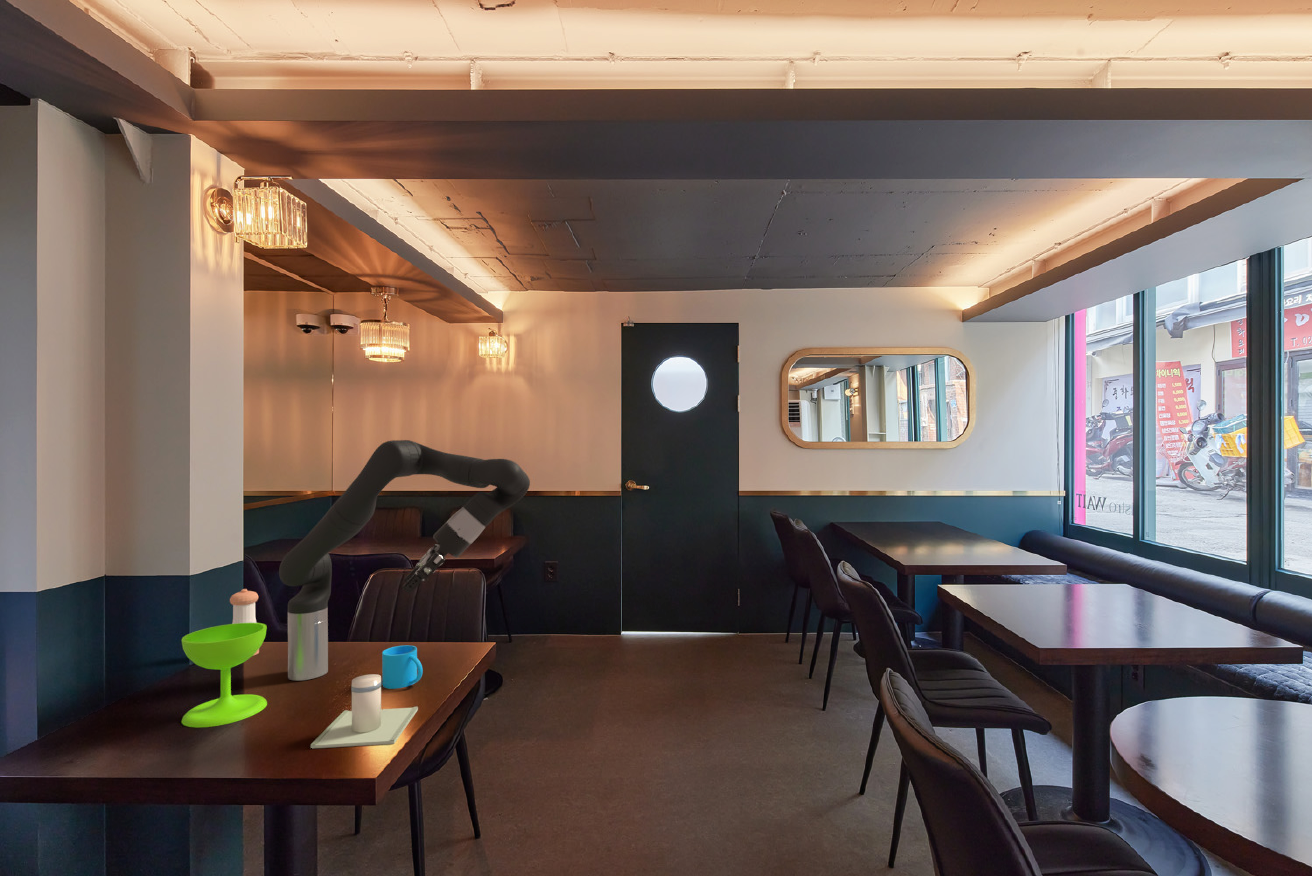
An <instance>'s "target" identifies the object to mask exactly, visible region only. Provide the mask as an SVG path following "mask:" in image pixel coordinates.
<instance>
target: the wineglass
mask: <svg viewBox="0 0 1312 876" xmlns="http://www.w3.org/2000/svg"><path fill="white" fill-rule="evenodd" d="M267 629H268V628H267V624H265V623H261V622H257V623H236V624H232V623H228V624H221V625H216V626H211V627H207V628H202V629H200V630H196V631H193V632H190V633H188V634H186V635H184V636H182V638H181V645H182V650H183V652H184V653H185V656H186V657H187V658H188V659H189V660H191V662H192V663H194V664H195V665H196V666H198V667H200V668H204V669H206V670H207V669H208V670H220V696H219V698H216V699H211V700H209V701H205V702H203V703H201V704H198V705H196V706H194V707H193V708H191V709H190V710H188V711H187V712H186V713H184V715H183V716H182V719H181V724H182V725H183V726H185V727H189V728H198V729H199V728H209V727H219V726H223V725H228V724H233V723H236V722H239V721H242V720H245V719H247V718H251V717H252V716H254V715H256V714H258V713H260V712H261V711H263V710H264V709H265V708H266V707H267V706H268V701H267V699H266V698H264V697H263V696H262V695H258V694H252V693H251V694H233V695H232V690H231V689H232V686H231V685H232V684H231V682H232V681H231V680H232V679H231V678H232V675H231V672H232V671H231V669H232V668H234V667H237V666H239V665H241V664H243V663H245V662H246V661H248V660H250V658H252V657H253V655H254V654H255V653H256V651H257V650H258V649H259V650H260V648H261V647H262V645H263V643H264V640H265V638H266V637H267V636H266V635H267ZM254 656H255V655H254Z"/></svg>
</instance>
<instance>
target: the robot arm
mask: <svg viewBox="0 0 1312 876" xmlns="http://www.w3.org/2000/svg"><path fill="white" fill-rule="evenodd" d="M413 475H415V476H416V475H428V476H438V477H440V478H443V479H445V480H446V481H449V482H451V483H454V484H458V485H460V486H465V487H472V488H476V489H484V488H485V489H486V488H487V487H489V486H493V487H495V488H494V489H492V490H491V491H489V492H486V491H483V490H482V491H478V492H476V493H475V494H474V495H473V496H472V497H471V498H470V499H469V500H468V501H467V502H466V503H465V504H464V505H463V506H462V507H461V508H460V509H459V510H458V511H455V513H454V514H453V515H452V516H451V517H450V518H449V519H448V520H447V521H446V522H445V523H444V524H443V525H442V526H441V527H440V528H438V530H437V531H436V532H435V533H434V534H433V539H434V540H435V541H436V544H434V545H433V547H430V548H429V549H428V550H427V552H426V553H425V554H424V555H422V557H421V558H420V559H419V560H418V562H417V563H416V565H415V567H414V568H413V569H412V570H411V571H410V572H409V573H408V574H407V575H406V576H405V577H404V579H403V580H404V582H405V583H404V584H403V585H402V590H404V591H405V592H406V593H407V594H411V593H412V592H413V591H414V590H415V589H417V587H418V586H419V585H420V584H421V583H422V582H424V581H426V580H429V578H430V577H431V576H432V575H433V574H434V573H435V572H436V570H438V568H439V567H440V566H442V565H443V564H444V563H445V561H446V558H445V557H446V556H447V555H448V554H450V555H451V556H452V557H454V558H459V557H460V556H461V555H462V554H463V553H464V552H465V551H466V550H467V549H468V548H469V546H471V544H473V543H474V541H476V539H478V537H479V536H480V535H481V534H482V532H483V531H484V530H485V529H486V527H487V526H488V525H490V523H491V522H493V520H494V519H496V517H497V516H498V515H499V514H501V513H502V512H504V511H506V510H507V509H508V508H510V507H512V506H513V505H514V504H516V503H518V502H519V501H520V500H521V499H522V498H524V496H525V495H526V494H527V493H528V491H529V489H530V485H531V479H530V478H529V476H528V474H527V473H526V472H525V471H524V470H523V469H522V468H521V466H520V465H519V463H517V462H515V461H513V460H511V459H506V458H489V459H483V458H479V457H471V456H468V455H462V454H455V453H448V452H444V451H440V450H437V449H433V448H431V447H429V446H426V445H423V444H421V443H419V442H416V441H413V440H407V439H400V440H399V439H397V440H395V439H394V440H393V439H392V440H387V441H385V442H383V443H381V444H380V445H379V446H378V447H376V449H375V451H374V452H373V453H372V454H371V456H370V457H369V459H368V461H367V462H366V463H365V465H364V467H363V468H362V470H361V471H360V472H359V474H358V475H357V476H356V478H355V479H354V480H353V481H352V482H351V484H350V485H349V486H348V487H347V488H346V489H345V491H344V492H343V493H342V494H341V495H340V497H338V499H337V500H336V501H335V502H334V503H333V505H332V506H331V507H330V508H329V509H328V511H326V513H325V514H324V515H323V517H321V519H320V520H319V521H318V522H317V524H315V526H313V528H312V529H311V530H310V531H309V533H308V534H306V536H305V537H304V538H303V539H302V540H300V541H299V542H298V543H297V544H296V545H295V546H294V547H293V548H292V549H290V551H288V552H287V553H286V555H285V556H284V557H283V559H282V561H281V562H280V565H279V569H278V575H279V579H280V581H281V582H282V583H283V584H284V585H286V586H289V587H301V589H300V591H299V592H298V593H297V594H296V595H295V596H293V597H292V598H291V599H290V600H289V601H288V603H287V679H288V680H291V681H307V680H311V679H316V678H319V677H322V676H325V675H326V674H327V673H328V672H329V636H328V635H329V632H328V631H329V629H328V626H329V623H328V621H329V619H328V617H329V615H328V611H329V610H328V607H329V606H328V603H329V599H330V597H331V592H332V576H333V574H332V573H333V569H332V567H333V564H332V559H331V556H330V555H331V554H330V552H332V551H333V550H335V549H336V548H338V547H340V546H342V545H343V544H345V543H347V542H348V541H350V540H351V539H353V537H354V536H356V535H357V534H358V533H359V532H361V530H362V529H363V528H364V527H365V526H366V525H367V523H368V522H370V520H371V519H372V518H373V516H374V513H375V510H376V506H377V499H378V496H379V495H380V493H381V492H382V491H383V489H384V488H385V487H386V486H387V485H389V484H390V483H391V482H392V481H393V480H394V479H396V478H403V477H410V476H411V477H412V476H413Z"/></svg>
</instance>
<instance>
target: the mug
mask: <svg viewBox="0 0 1312 876" xmlns="http://www.w3.org/2000/svg"><path fill="white" fill-rule="evenodd" d="M381 655H382V656H381V660H382V661H381V664H382V667H381V669H382V671H381V672H382V676H381V686H382V685H383V686H382V688H385V689H391V690H393V689H394V690H395V689H402V688H407V687H409V686H412V685H414V684H416V683H418V682H419V681H420V680H421V679H422V676H423V673H424V672H423V671H424V670H423V665H422V663H421V661H420V660H419V658H418V648H417V646H415V645H406V644H405V645H403V644H402V645H398V646H392V647H388V648H387V649H384V650H383V651H382V653H381Z"/></svg>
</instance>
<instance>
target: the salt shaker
mask: <svg viewBox="0 0 1312 876" xmlns="http://www.w3.org/2000/svg"><path fill="white" fill-rule="evenodd" d="M258 600H259V595H258V593H257V591H252V590H248V589H247V588H243V589H241V591H238V592H236V593H234V594H232V595H231V596H230V598H229V603H230V604H231V605H232V606H233V607H232V623H231V624H236V623H258V622H257V619H256V602H258ZM259 653H260V648H259V649H258V650H257V651H256V653H255V654H254V655H253V656H256V655H258V654H259ZM253 656H252V657H253Z"/></svg>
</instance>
